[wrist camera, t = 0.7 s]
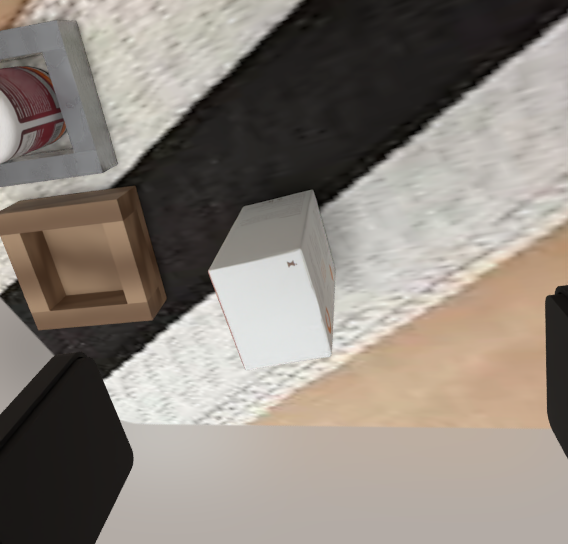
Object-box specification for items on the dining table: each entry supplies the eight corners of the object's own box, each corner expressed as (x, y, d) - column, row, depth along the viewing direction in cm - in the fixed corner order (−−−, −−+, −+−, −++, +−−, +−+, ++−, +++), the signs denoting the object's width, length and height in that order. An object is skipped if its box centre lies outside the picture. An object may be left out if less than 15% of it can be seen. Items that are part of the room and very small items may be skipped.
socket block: (-52, 45, 41) (-80, 46, 38) (76, 20, 39) (56, 20, 36) (1, 180, 45) (-21, 190, 43) (117, 164, 43) (102, 172, 41)
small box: (241, 205, 44) (204, 268, 32) (314, 187, 43) (302, 246, 31) (269, 288, 47) (244, 373, 35) (337, 273, 46) (334, 357, 34)
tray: (19, 200, 46) (-9, 215, 42) (135, 185, 44) (116, 199, 41) (60, 308, 50) (38, 330, 47) (166, 298, 49) (152, 320, 45)
